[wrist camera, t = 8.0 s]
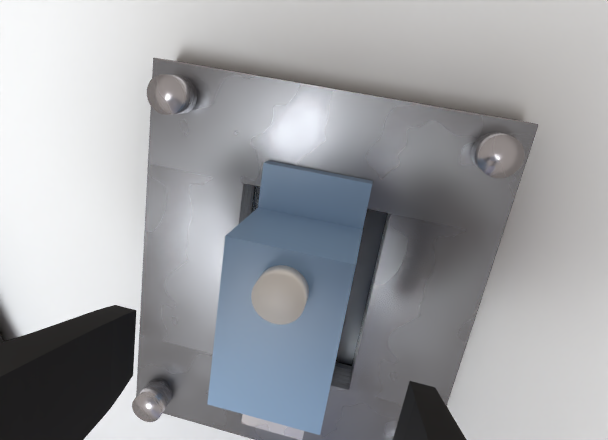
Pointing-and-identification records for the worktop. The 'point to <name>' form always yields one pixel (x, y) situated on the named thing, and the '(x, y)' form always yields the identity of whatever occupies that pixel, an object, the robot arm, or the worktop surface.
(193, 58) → the worktop surface
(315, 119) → the plate
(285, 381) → the servo
